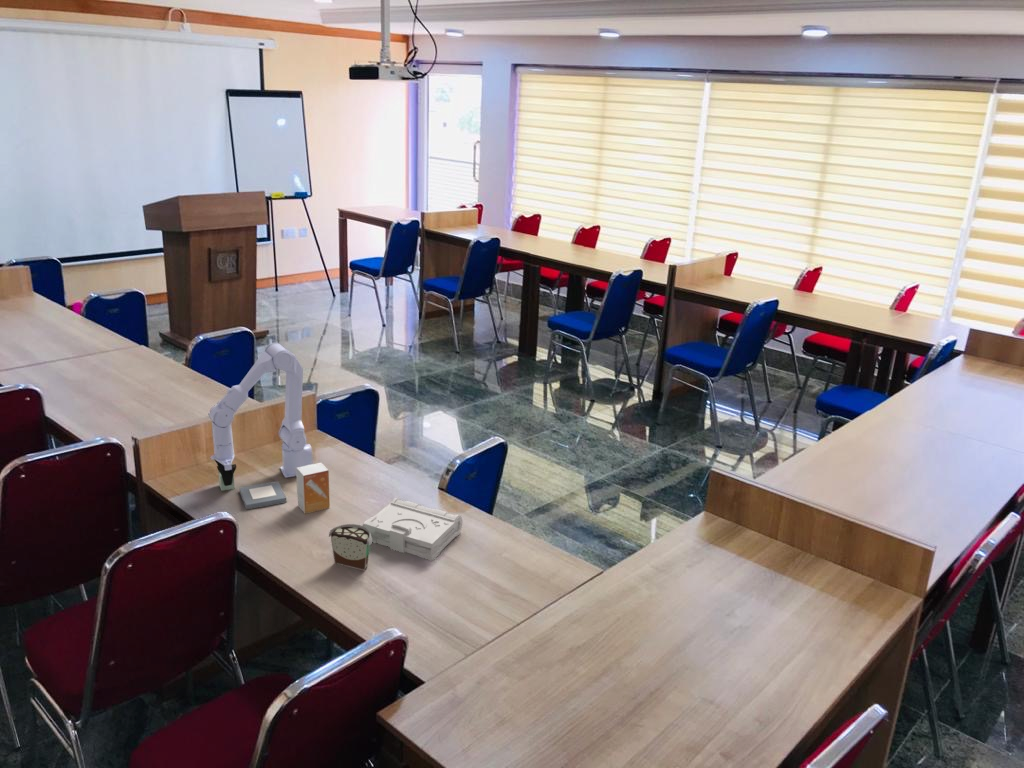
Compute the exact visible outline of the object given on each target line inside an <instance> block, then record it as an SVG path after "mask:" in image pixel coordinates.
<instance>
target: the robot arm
mask: <svg viewBox="0 0 1024 768" xmlns="http://www.w3.org/2000/svg"><path fill="white" fill-rule="evenodd" d="M276 368H277V369H276ZM277 370H281V371H284V372H285V391H284V392H285V395H284V400H285V401H284V418H283V419H282V420H281V426H280V428H279V430H278V437H279V438H280V440H282V444H281V453H282V455H281V456H282V466H280V470H281V473H282V474H283V477H284V478H293V477H297V476H296V468H298V467H302V466H306V465H311V464H314V459H313V458H314V457H313V455H314V454H313V448H312V446H311V444H310V443H307V442H308V439H307V438H308V437H307V435H306V434H305V426H304V424H303V421H302V414H303V413H302V410H303V407H302V405H303V386H304V385H303V381H304V380H303V379H304V377H303V376H304V367H303V366H302V365H301V363H300V361H299V360H298V358H297V356H296V354H294V353H293V352H291V351H289V349H288V348H287V347H285V346H283V345H282V344H280V343H279V342H271V343H268V345H267V346H266V347H265V348H264V350H262V351H261V352H260V354H259V356H258V358H257V360H256V361H255V362H254V364H253V365H252V366H251V368H250V369H249V371H248V372H247V374H246V375H245V376H244V377H243V379H241V382H240V383H239V384H236V385H232V386H231V388H229V387H228V389H226V393H225V395H223V397H222V398H221V399H220V401H219V400H218V401H217V402H216V405H213V406H212V407H211V408H210V410H209V413H208V418H209V419H210V420H211V425H212V426H211V427H212V429H211V430H212V440H213V441H212V442H213V452H214V454H213V455H211V456H210V459H211V461H214V462H215V463H216V469H217V470H218V471H219V472H220V473H221V476H222V479H223V483H224V485H225V486H229V485H232V480H233V474H235V471H236V469H237V464H236V463H235V464H234V463H233V461H234V459H235V455H236V454H235V452H234V451H235V450H234V442H233V429H232V428H233V427H232V424H233V421H234V420H235V419H234V415H235V414H236V412H237V411H238V410H240V408H241V407H242V405H244V403H245V402H246V401H247V400H248V399H249V391H250V390H252V388H253V387H254V386H255V385H256V384H257V382H259V380H260V379H261V378H262V377H263V376H264V375H265V374H267V373H274V372H277Z"/></svg>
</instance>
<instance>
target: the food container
mask: <svg viewBox="0 0 1024 768" xmlns="http://www.w3.org/2000/svg"><path fill="white" fill-rule="evenodd" d="M329 537H330V543H331V547H332V554H333V561H334V564H335V563H337V564H336V565H339V564H341V566H343V565H344V566H343V567H349V568H353V569H356V570H360V571H366V570H367V569H368V567H369V566H368V565H369V564H368V563H369V553H370V546H371V545H372V544H373V543H372V537H371V534H370V532H369V530H368V529H367V528H365V527H363V525H360V524H355V523H353V524H352V523H347V524H341V525H337V526H335V527H333V528H331V529H330V530H329V534H328V538H329Z"/></svg>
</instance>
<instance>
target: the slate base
mask: <svg viewBox="0 0 1024 768" xmlns="http://www.w3.org/2000/svg"><path fill="white" fill-rule="evenodd" d="M238 489H239V494H240V497H241V499H242V502H243V504H244V507H245V509H246V510H249V509H250V510H251V509H256V508H261V507H267V506H272V505H273V504H274V505H278V504H285V503H287V501H288V500H287V497H286V494H285V491H284V490H283V489H282V486H281V484H280V482H279V480H277V481H270V482H265V483H264V482H263V483H260V484H253V485H246V486H241V487H238Z"/></svg>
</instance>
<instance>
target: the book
mask: <svg viewBox="0 0 1024 768" xmlns="http://www.w3.org/2000/svg"><path fill="white" fill-rule="evenodd" d="M362 524H363V525H362V526H363V527H365V528H367V529H368V530H369V532H370V534H371V537H372V542H373V543H372V544H375V543H378V545H381V546H384V547H387V546H388V548H389V549H390V550H392V549H393V550H392V551H395V550H397V551H396V552H398V551H399V553H402V552H403V553H402V554H404V553H408V554H410V555H414V556H418V557H419V558H422V559H424V558H425V559H424V560H427V559H428V561H431V560H432V561H434V560H435V559H436V558H437V557H438V556H439V555H440V554H441V552H442V551H443V550H444V549H445V548H446V547H447V545H449V544H450V543H451V542H452V541H453V540H454V539H455V538H456V537H458V536H459V535H460V533H461V531H462V528H463V518H462V515H460V514H451V513H450V512H448V511H444V510H442V509H436V508H434V509H433V508H430V507H426V506H423V505H421V504H420V503H415V502H412V501H408V500H405V501H404V500H402V499H401V498H399V497H394V498H393V499H392V500H391V502H390V503H389V504H387V505H386V506H385V507H384V508H381V510H380V511H379V512H377V513H376V514H375V515H373V516H371V517H369V518H368V519H366V520H365V521H364V522H363V523H362ZM432 561H431V562H432Z"/></svg>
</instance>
